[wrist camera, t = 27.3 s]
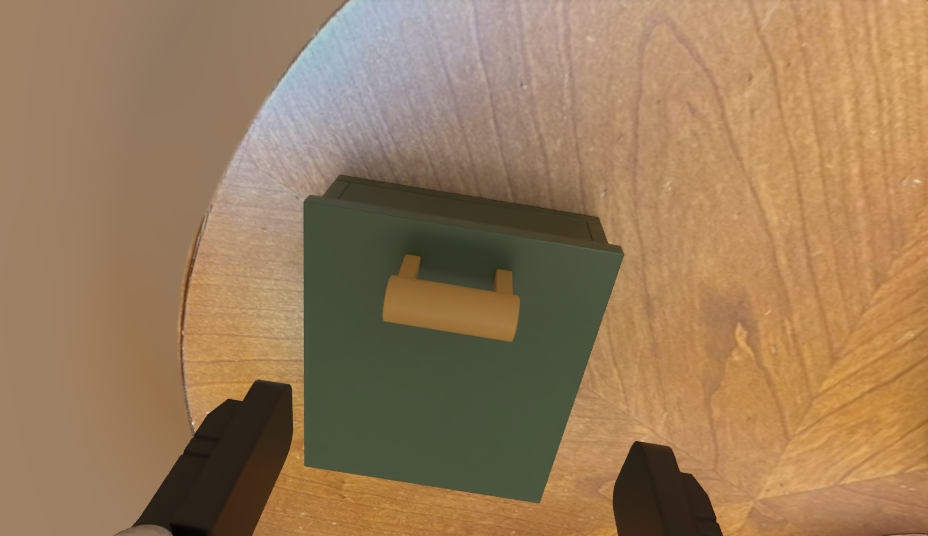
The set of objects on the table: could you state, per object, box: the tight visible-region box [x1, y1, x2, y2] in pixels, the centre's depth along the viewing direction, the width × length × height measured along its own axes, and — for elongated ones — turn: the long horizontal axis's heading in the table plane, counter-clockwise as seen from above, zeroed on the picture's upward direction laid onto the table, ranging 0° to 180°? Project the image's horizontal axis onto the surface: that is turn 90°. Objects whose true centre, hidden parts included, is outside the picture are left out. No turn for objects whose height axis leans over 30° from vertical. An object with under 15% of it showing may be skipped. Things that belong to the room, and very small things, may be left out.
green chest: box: [322, 175, 608, 244], centre depth 29 cm, size 16×14×5 cm
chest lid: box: [304, 195, 624, 503], centre depth 25 cm, size 16×14×5 cm
